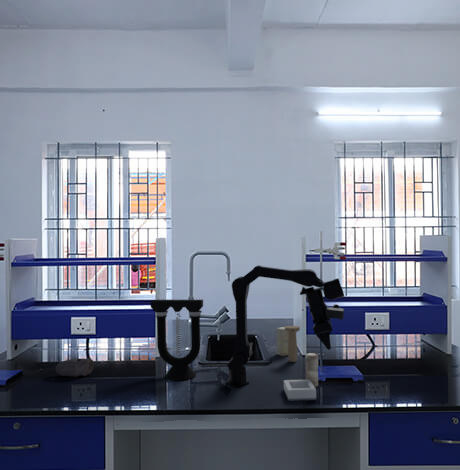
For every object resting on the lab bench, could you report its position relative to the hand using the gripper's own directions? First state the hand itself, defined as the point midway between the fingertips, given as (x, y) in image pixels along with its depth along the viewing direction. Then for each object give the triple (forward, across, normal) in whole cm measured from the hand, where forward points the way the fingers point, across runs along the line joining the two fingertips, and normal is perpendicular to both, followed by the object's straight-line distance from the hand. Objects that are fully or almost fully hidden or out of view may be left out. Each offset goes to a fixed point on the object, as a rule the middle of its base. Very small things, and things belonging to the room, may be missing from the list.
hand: (329, 345), depth 149 cm
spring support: (-1, +4, +61) cm, 61 cm away
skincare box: (+10, +40, +23) cm, 47 cm away
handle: (+11, +30, +18) cm, 37 cm away
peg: (+13, +3, +10) cm, 17 cm away
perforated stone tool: (-11, -2, +101) cm, 101 cm away
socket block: (+12, -7, +14) cm, 20 cm away
